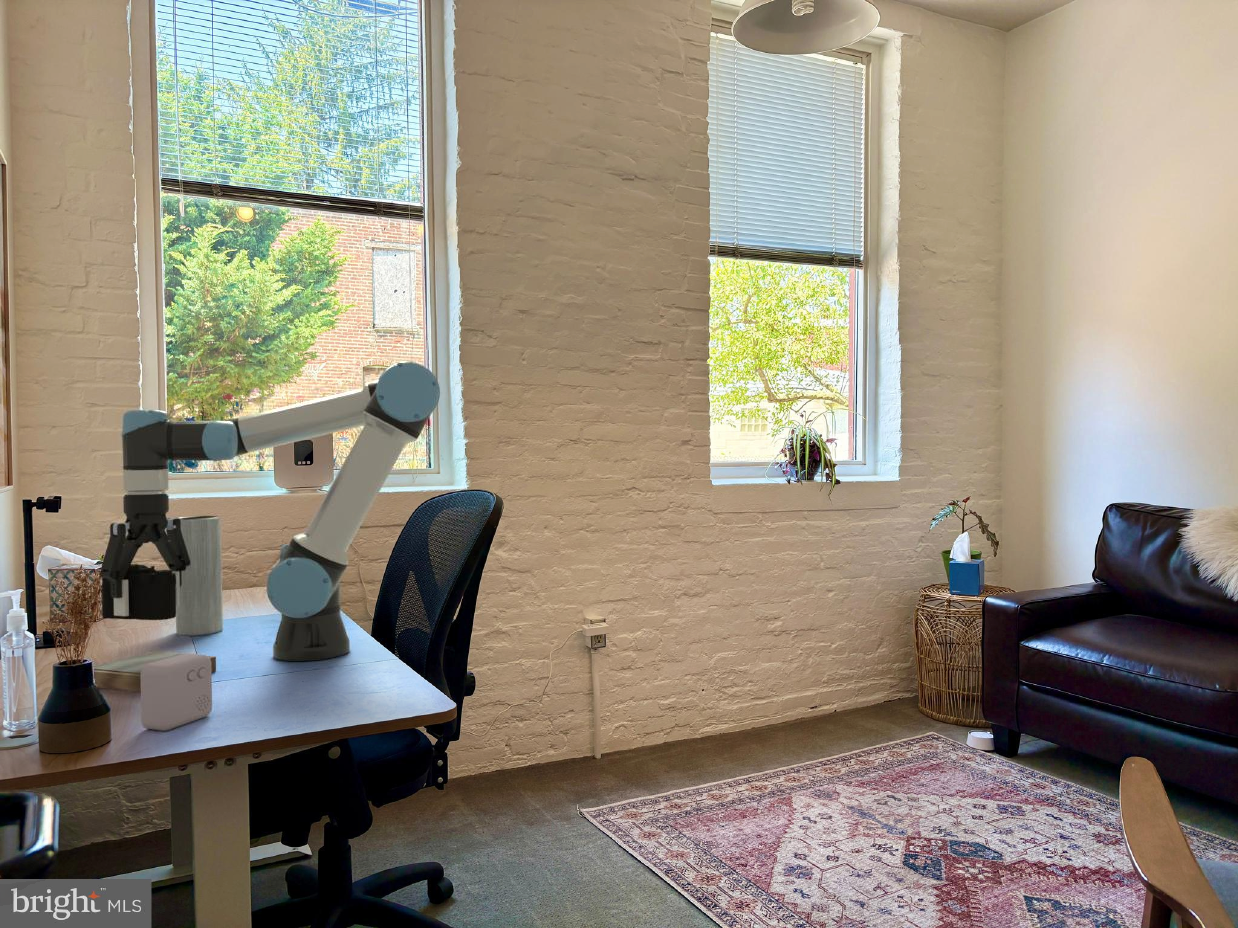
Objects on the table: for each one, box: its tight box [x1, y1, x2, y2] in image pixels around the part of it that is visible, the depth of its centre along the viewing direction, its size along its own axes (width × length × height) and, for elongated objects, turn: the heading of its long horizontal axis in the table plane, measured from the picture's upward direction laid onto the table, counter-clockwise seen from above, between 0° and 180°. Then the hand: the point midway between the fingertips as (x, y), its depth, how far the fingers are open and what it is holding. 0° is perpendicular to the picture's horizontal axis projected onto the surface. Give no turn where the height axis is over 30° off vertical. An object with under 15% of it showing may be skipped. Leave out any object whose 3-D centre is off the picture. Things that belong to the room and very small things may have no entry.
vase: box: [175, 515, 224, 637], centre depth 212 cm, size 10×10×27 cm
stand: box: [93, 650, 217, 693], centre depth 169 cm, size 16×16×3 cm
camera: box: [101, 563, 176, 621], centre depth 169 cm, size 14×11×10 cm
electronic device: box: [140, 652, 213, 732], centre depth 141 cm, size 10×5×10 cm, turn 158°
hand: (147, 610), depth 169 cm, fingers closed on camera, 11 cm apart
